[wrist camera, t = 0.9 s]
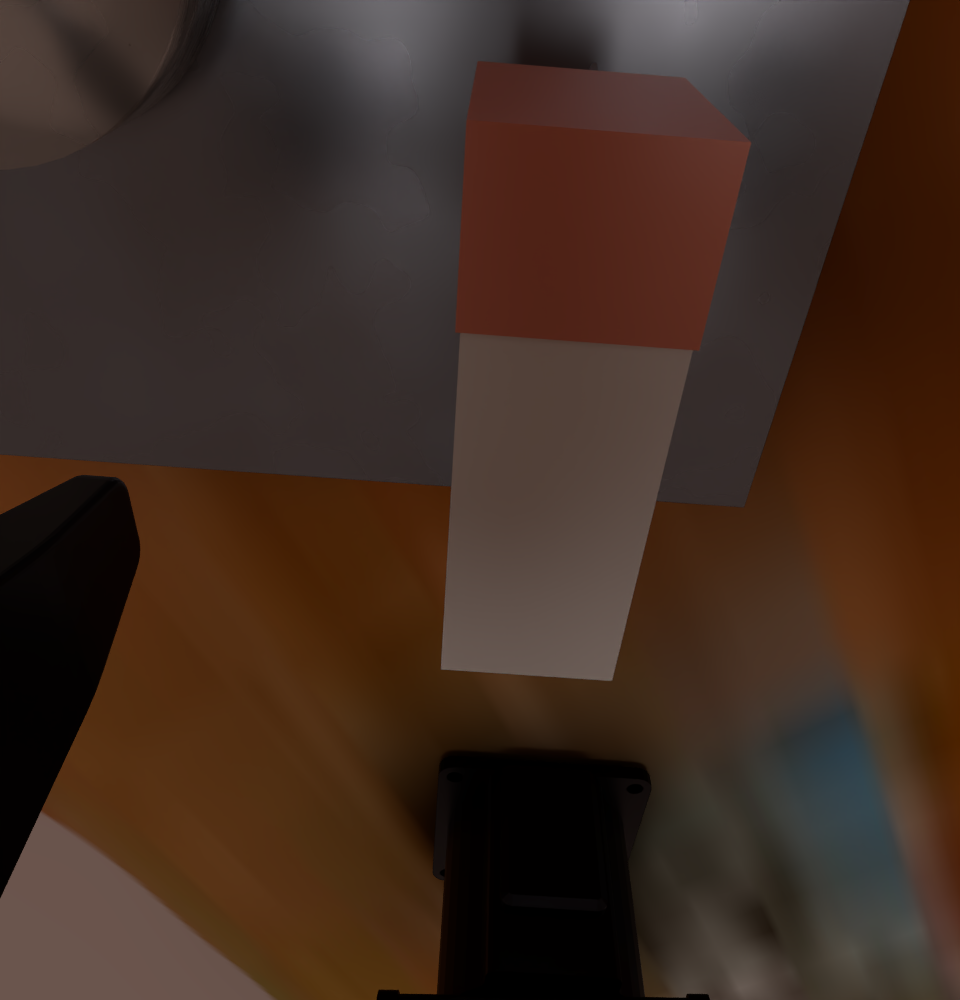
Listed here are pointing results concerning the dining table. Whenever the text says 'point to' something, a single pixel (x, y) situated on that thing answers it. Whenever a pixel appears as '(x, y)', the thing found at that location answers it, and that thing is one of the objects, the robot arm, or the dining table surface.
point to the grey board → (365, 218)
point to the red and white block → (573, 350)
